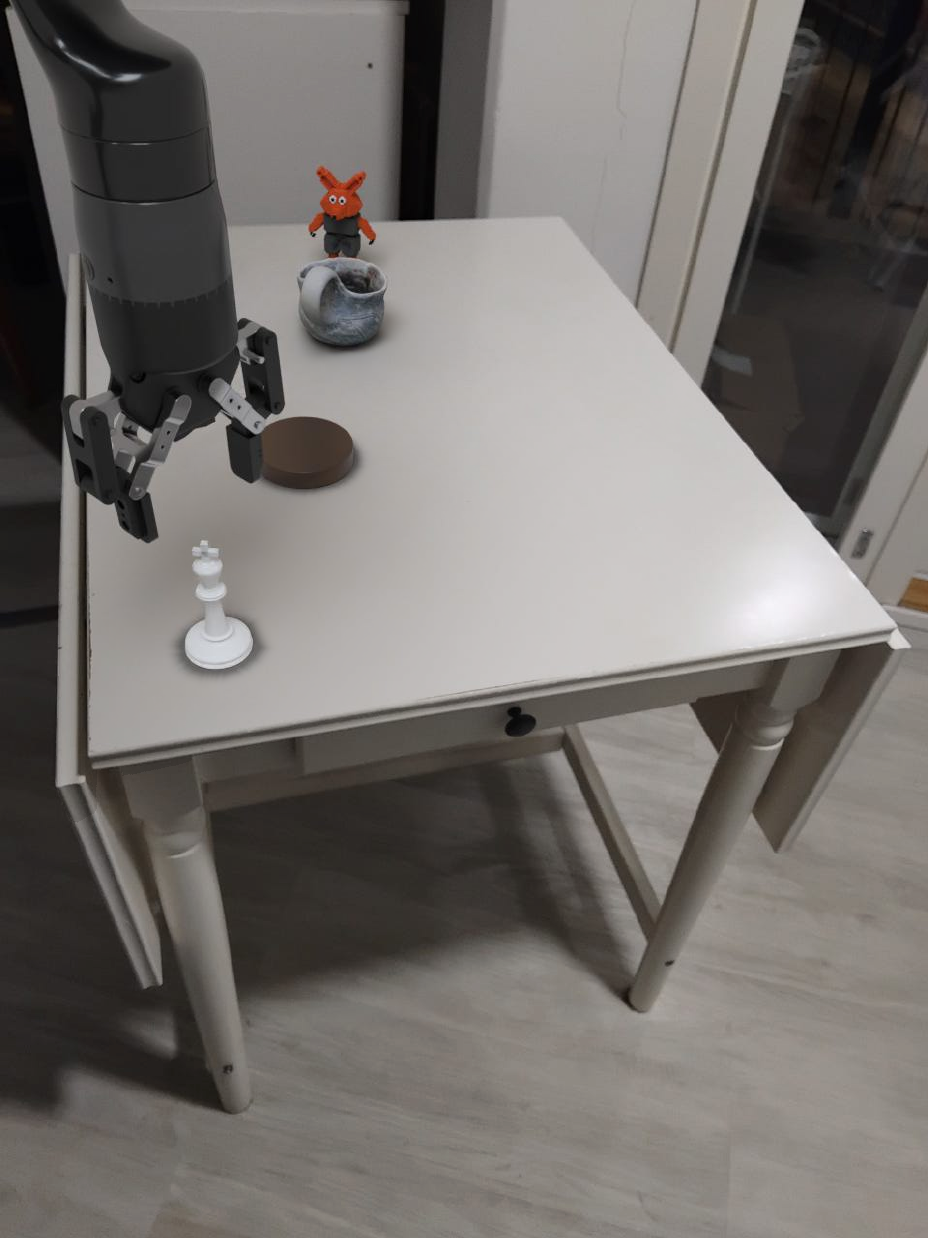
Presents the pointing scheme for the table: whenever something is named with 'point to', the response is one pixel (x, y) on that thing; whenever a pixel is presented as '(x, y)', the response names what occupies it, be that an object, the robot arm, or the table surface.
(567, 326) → the table surface
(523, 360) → the table surface
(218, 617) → the chess piece
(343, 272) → the mug
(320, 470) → the walnut chip
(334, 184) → the toy animal
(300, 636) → the table surface
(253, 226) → the table surface
